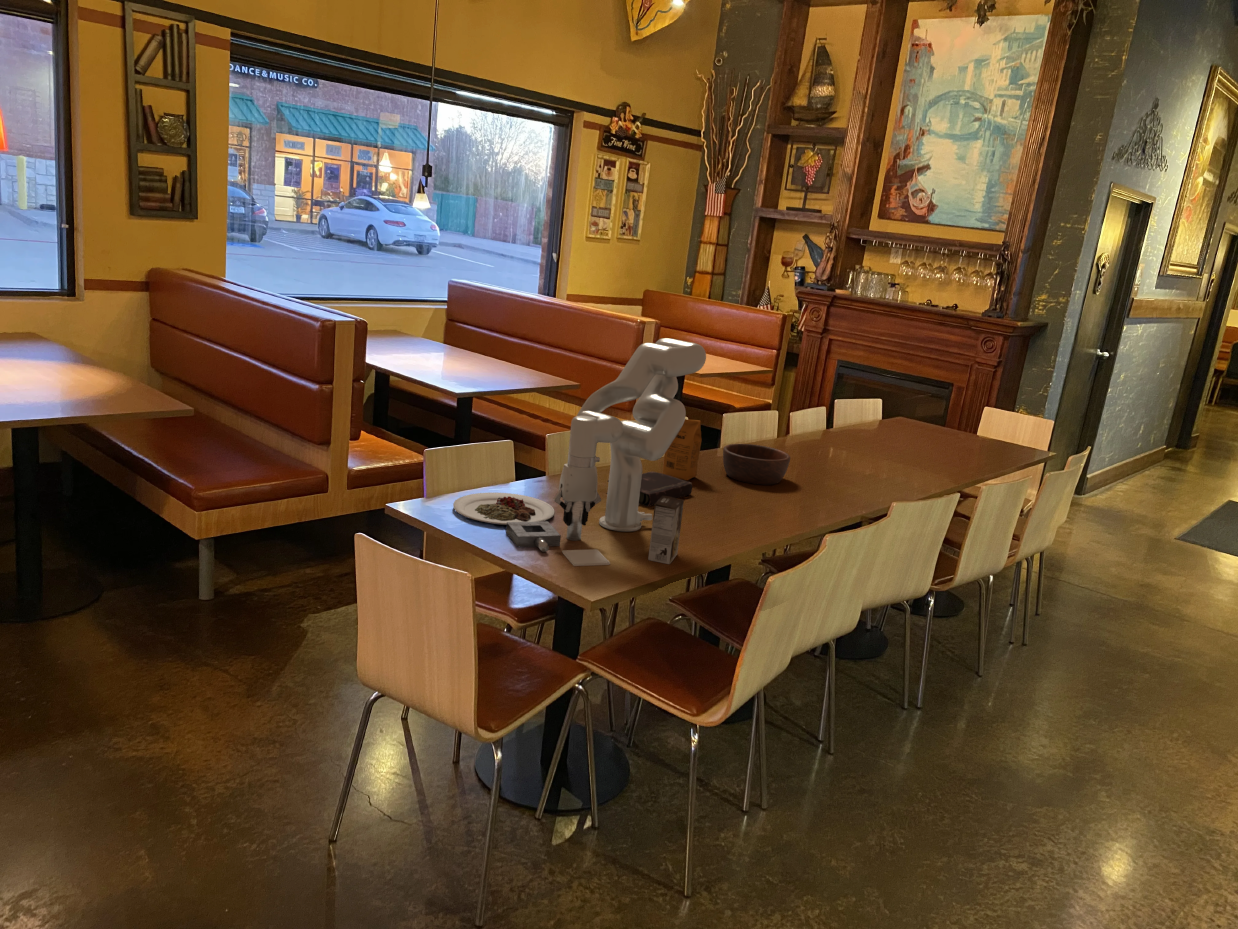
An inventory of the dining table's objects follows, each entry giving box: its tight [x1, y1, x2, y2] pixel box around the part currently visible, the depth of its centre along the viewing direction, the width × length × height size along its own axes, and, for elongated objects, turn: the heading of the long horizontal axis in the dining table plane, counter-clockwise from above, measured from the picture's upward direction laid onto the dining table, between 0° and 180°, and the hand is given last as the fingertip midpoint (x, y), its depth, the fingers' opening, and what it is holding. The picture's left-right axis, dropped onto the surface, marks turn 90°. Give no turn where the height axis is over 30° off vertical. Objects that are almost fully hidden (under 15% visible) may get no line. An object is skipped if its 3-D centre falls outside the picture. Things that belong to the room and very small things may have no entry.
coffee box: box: [647, 496, 685, 565], centre depth 255 cm, size 9×6×16 cm
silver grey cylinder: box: [566, 501, 584, 541], centre depth 263 cm, size 4×4×12 cm
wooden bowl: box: [722, 443, 791, 486], centre depth 352 cm, size 25×25×10 cm
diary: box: [605, 471, 693, 508], centre depth 316 cm, size 19×25×5 cm
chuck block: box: [505, 520, 562, 553], centre depth 257 cm, size 12×17×3 cm
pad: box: [561, 548, 611, 567], centre depth 249 cm, size 10×10×1 cm
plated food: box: [452, 492, 555, 526], centre depth 280 cm, size 30×30×3 cm
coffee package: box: [661, 418, 702, 481], centre depth 341 cm, size 10×12×22 cm
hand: (575, 523), depth 263 cm, fingers closed on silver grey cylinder, 4 cm apart
